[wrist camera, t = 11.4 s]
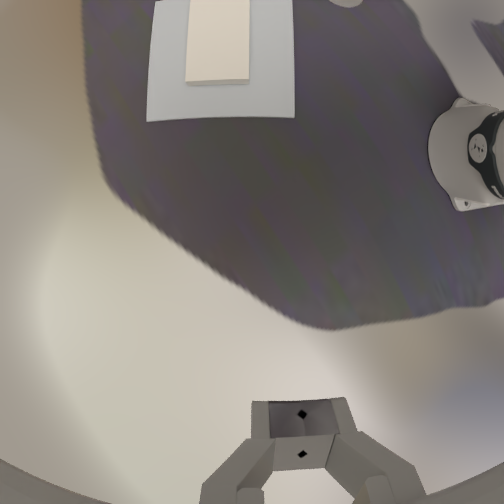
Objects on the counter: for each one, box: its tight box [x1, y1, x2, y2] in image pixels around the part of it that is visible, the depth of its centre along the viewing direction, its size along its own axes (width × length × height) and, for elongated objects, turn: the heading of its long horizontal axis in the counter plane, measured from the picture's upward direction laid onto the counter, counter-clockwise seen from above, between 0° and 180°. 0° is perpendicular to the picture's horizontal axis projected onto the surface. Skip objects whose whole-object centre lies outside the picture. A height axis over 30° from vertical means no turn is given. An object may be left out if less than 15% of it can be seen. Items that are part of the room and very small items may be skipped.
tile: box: [185, 0, 250, 86], centre depth 33 cm, size 8×3×14 cm
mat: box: [147, 0, 295, 122], centre depth 36 cm, size 20×20×1 cm
